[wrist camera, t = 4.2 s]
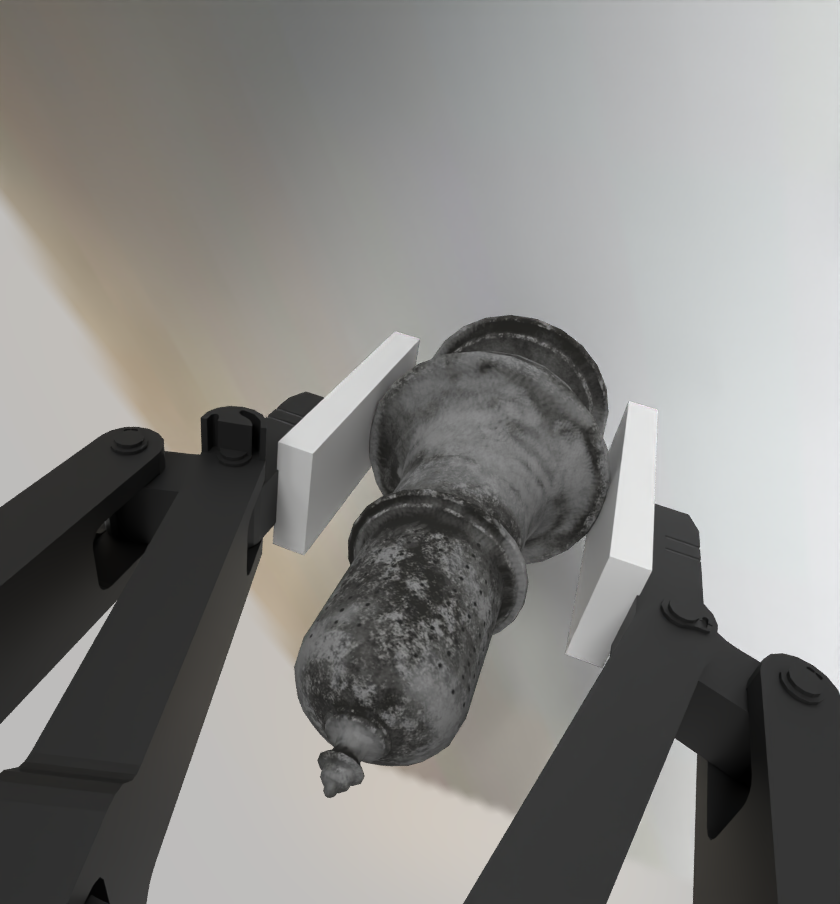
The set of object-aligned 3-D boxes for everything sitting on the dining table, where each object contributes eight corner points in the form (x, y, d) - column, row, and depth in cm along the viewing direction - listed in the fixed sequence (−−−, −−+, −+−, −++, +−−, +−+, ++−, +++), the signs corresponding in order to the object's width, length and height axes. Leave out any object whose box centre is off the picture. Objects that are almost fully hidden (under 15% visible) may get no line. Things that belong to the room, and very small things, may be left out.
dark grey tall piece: (666, 378, 16) (661, 835, 7) (547, 525, 20) (428, 968, 10) (469, 262, 16) (177, 539, 7) (385, 428, 20) (111, 771, 10)
